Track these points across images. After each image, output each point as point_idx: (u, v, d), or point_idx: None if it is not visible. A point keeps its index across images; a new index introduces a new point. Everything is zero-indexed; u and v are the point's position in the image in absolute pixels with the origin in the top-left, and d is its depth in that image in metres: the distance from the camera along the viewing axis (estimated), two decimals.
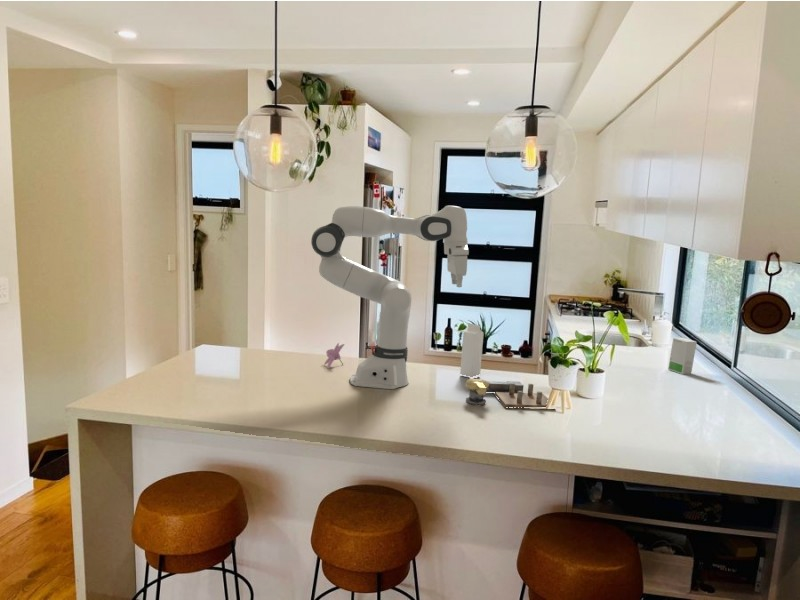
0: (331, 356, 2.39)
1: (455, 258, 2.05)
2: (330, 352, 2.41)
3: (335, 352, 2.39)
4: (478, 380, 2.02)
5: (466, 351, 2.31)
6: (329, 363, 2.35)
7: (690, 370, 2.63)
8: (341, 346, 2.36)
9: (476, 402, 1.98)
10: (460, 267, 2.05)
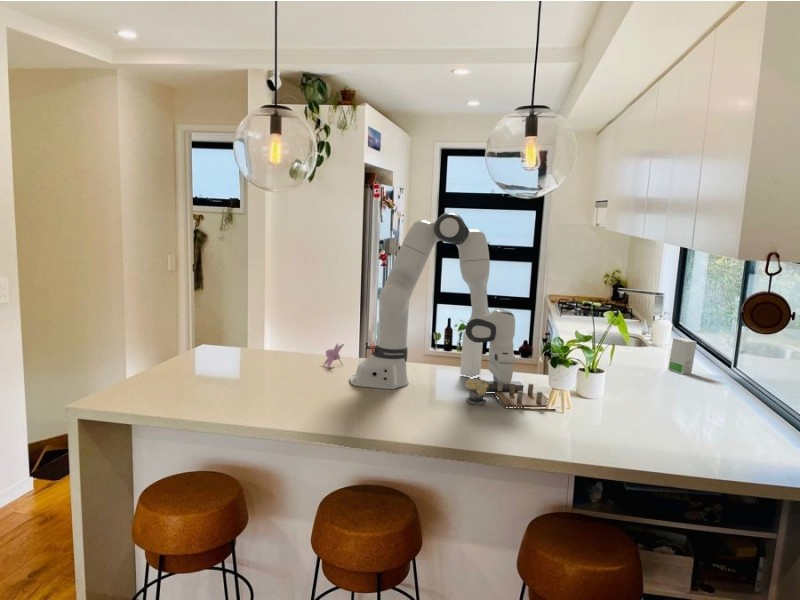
0: (330, 356, 2.39)
1: (501, 366, 2.03)
2: (329, 352, 2.40)
3: (334, 352, 2.39)
4: (478, 380, 2.02)
5: (466, 351, 2.31)
6: (329, 363, 2.35)
7: (690, 370, 2.63)
8: (341, 346, 2.36)
9: (476, 402, 1.98)
10: (505, 375, 2.03)
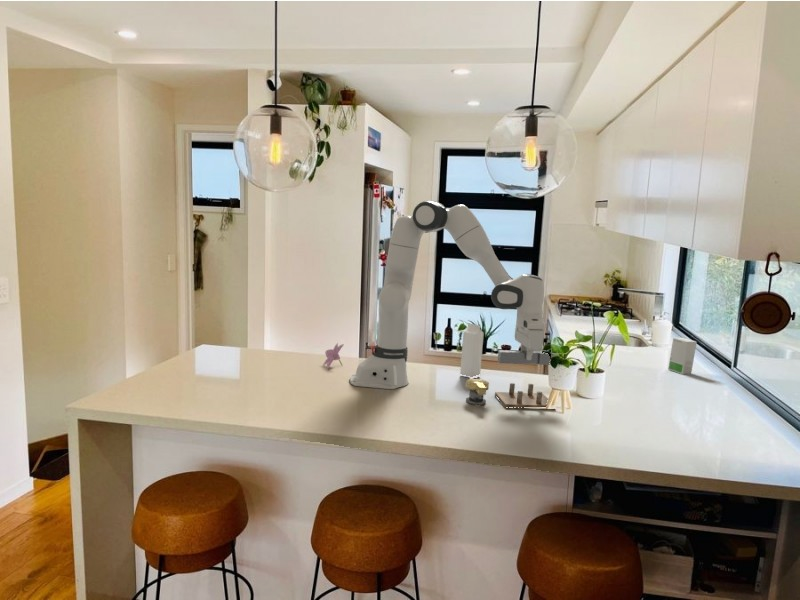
0: (330, 356, 2.39)
1: (531, 332, 1.93)
2: (329, 352, 2.40)
3: (334, 352, 2.39)
4: (478, 380, 2.02)
5: (466, 351, 2.31)
6: (328, 363, 2.35)
7: (690, 370, 2.63)
8: (340, 346, 2.36)
9: (476, 402, 1.98)
10: (535, 342, 1.92)
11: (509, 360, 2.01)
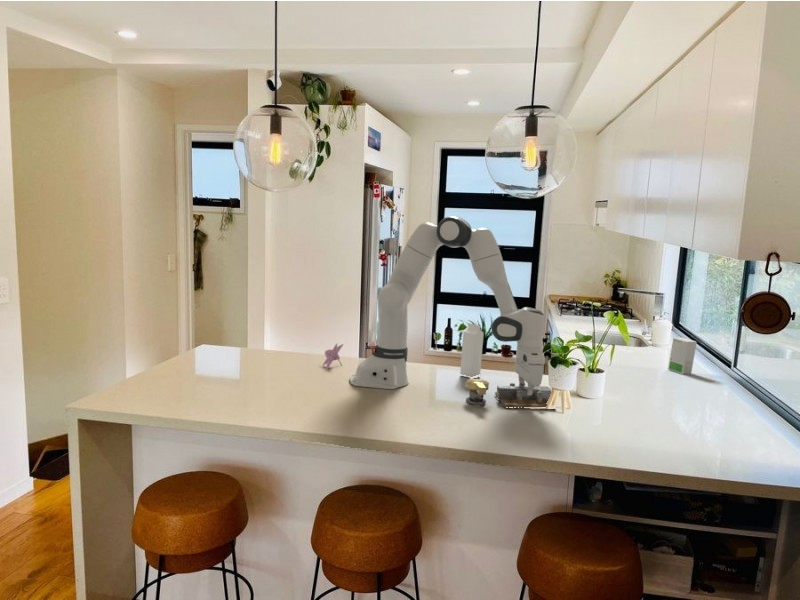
0: (330, 356, 2.38)
1: (531, 367, 1.93)
2: (328, 352, 2.40)
3: (334, 352, 2.39)
4: (478, 380, 2.02)
5: (466, 351, 2.31)
6: (328, 364, 2.34)
7: (690, 370, 2.63)
8: (340, 346, 2.35)
9: (476, 402, 1.98)
10: (535, 377, 1.92)
11: (508, 396, 2.01)
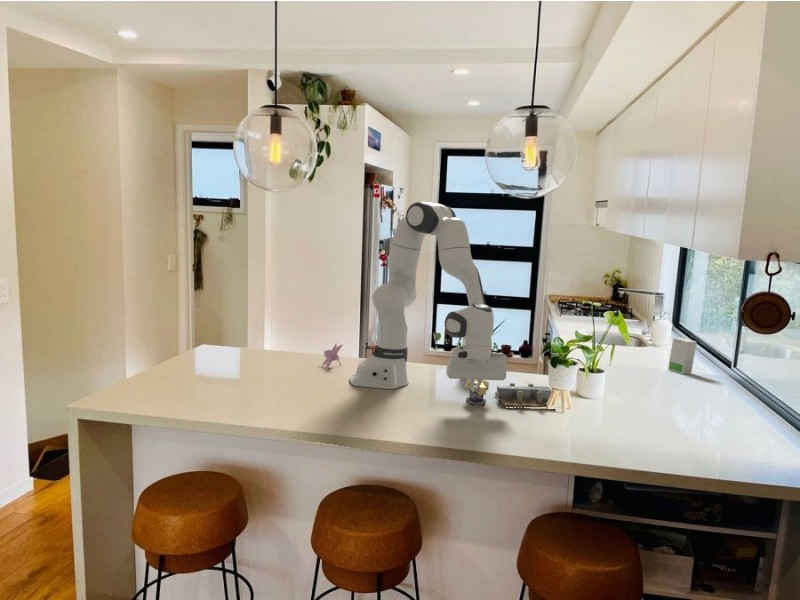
0: (329, 357, 2.38)
1: (450, 357, 1.94)
2: (327, 352, 2.39)
3: (333, 353, 2.38)
4: None
5: None
6: (327, 364, 2.34)
7: (690, 370, 2.63)
8: (339, 347, 2.35)
9: (476, 402, 1.98)
10: (447, 367, 1.93)
11: (508, 396, 2.01)
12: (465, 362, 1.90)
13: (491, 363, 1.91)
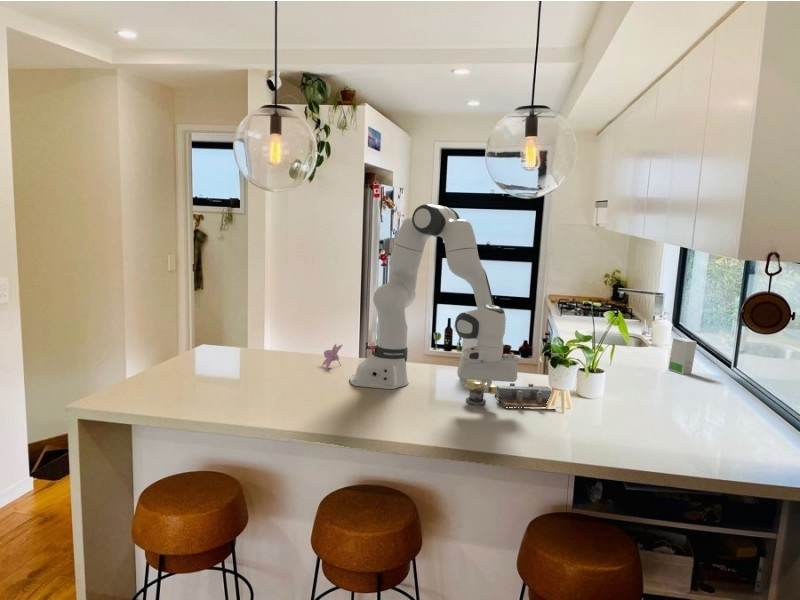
0: (329, 357, 2.38)
1: (461, 358, 1.94)
2: (327, 353, 2.39)
3: (333, 353, 2.38)
4: (474, 380, 2.02)
5: None
6: (327, 364, 2.34)
7: (690, 370, 2.63)
8: (339, 347, 2.35)
9: (476, 402, 1.98)
10: (458, 368, 1.93)
11: (508, 396, 2.01)
12: (477, 363, 1.91)
13: (502, 364, 1.92)
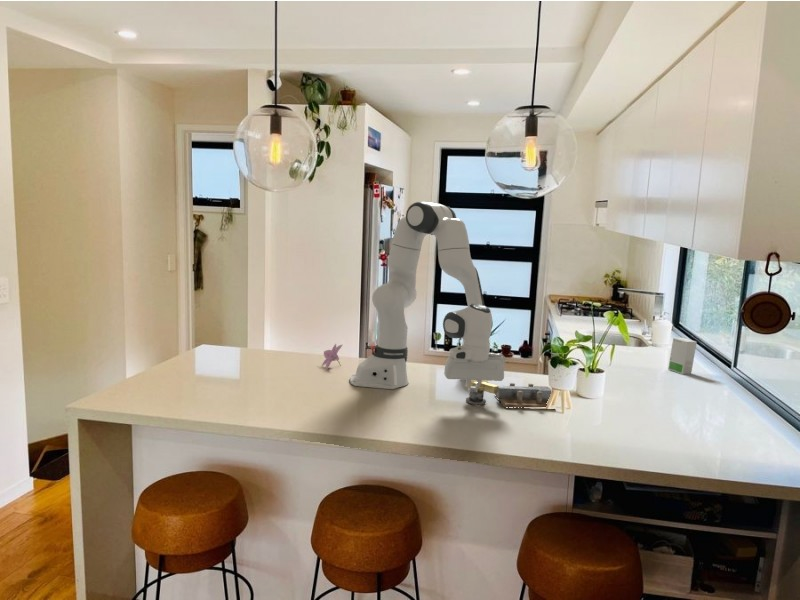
0: (329, 357, 2.38)
1: (448, 358, 1.94)
2: (327, 353, 2.39)
3: (333, 353, 2.38)
4: (474, 380, 2.02)
5: None
6: (327, 364, 2.34)
7: (690, 370, 2.63)
8: (339, 347, 2.35)
9: (476, 402, 1.98)
10: (445, 368, 1.93)
11: (508, 396, 2.01)
12: (463, 363, 1.91)
13: (489, 364, 1.92)
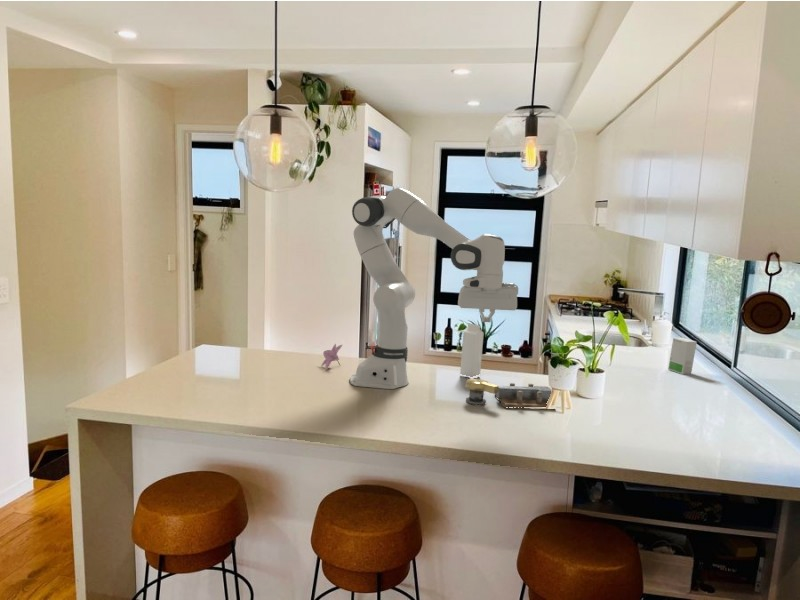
0: (328, 357, 2.37)
1: (461, 288, 1.96)
2: (327, 353, 2.39)
3: (332, 353, 2.38)
4: (474, 380, 2.02)
5: (466, 351, 2.31)
6: (327, 364, 2.33)
7: (690, 370, 2.63)
8: (339, 347, 2.35)
9: (476, 402, 1.98)
10: (459, 297, 1.95)
11: (508, 396, 2.01)
12: (477, 292, 1.93)
13: (502, 293, 1.94)
